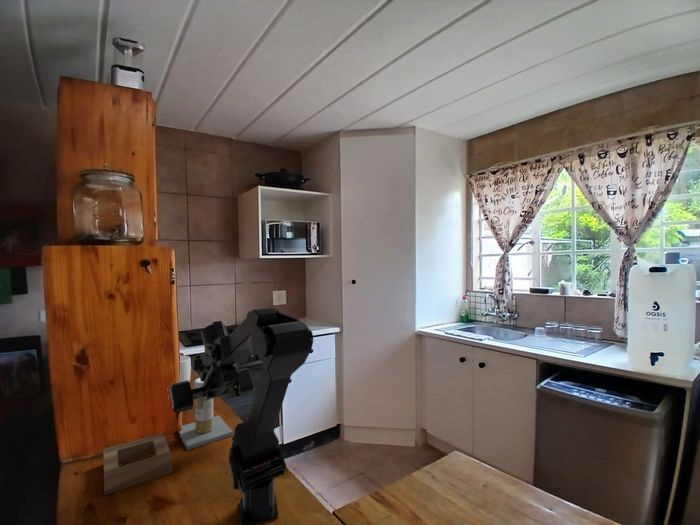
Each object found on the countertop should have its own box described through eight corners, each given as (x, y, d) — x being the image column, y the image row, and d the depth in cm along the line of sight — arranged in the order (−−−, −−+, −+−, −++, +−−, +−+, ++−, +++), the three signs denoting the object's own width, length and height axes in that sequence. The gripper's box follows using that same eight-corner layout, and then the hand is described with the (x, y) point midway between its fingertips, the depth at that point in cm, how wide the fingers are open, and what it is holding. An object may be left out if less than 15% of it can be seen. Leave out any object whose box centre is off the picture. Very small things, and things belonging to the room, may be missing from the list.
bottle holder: (172, 472, 76) (172, 457, 75) (104, 495, 69) (104, 477, 68) (163, 446, 85) (163, 432, 85) (103, 464, 78) (103, 448, 78)
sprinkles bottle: (191, 430, 91) (191, 379, 91) (208, 423, 95) (208, 374, 94) (200, 436, 88) (199, 383, 88) (217, 429, 92) (216, 378, 91)
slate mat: (232, 435, 91) (232, 431, 91) (187, 450, 84) (187, 446, 84) (218, 418, 99) (218, 415, 99) (176, 431, 93) (176, 427, 93)
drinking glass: (181, 413, 102) (180, 363, 102) (161, 411, 104) (160, 361, 103) (195, 403, 109) (195, 356, 108) (176, 401, 110) (176, 354, 110)
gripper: (249, 337, 91) (234, 368, 100) (170, 350, 79) (161, 384, 88) (262, 376, 85) (245, 405, 94) (179, 395, 73) (168, 427, 82)
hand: (206, 403), depth 90 cm, fingers open, 9 cm apart
